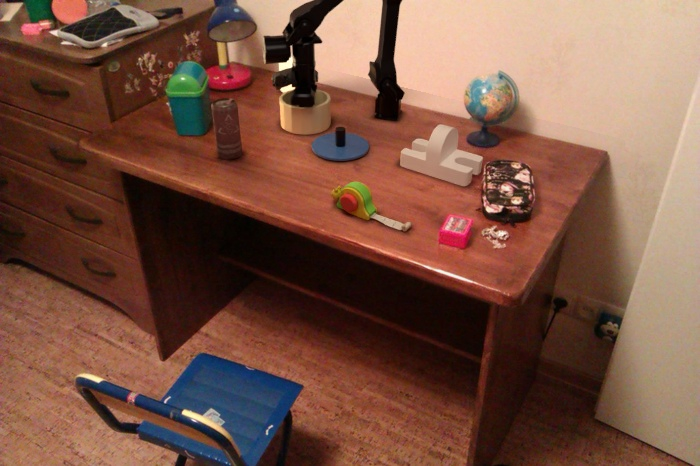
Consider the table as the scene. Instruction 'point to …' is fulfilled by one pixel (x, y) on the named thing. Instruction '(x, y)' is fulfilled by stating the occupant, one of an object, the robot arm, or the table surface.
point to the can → (227, 128)
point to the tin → (305, 114)
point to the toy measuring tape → (363, 204)
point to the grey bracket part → (442, 157)
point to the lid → (340, 145)
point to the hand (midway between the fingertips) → (305, 116)
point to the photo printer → (285, 66)
